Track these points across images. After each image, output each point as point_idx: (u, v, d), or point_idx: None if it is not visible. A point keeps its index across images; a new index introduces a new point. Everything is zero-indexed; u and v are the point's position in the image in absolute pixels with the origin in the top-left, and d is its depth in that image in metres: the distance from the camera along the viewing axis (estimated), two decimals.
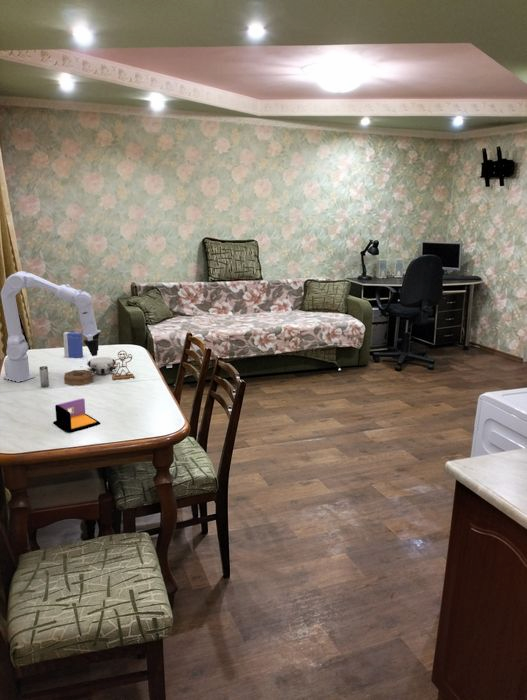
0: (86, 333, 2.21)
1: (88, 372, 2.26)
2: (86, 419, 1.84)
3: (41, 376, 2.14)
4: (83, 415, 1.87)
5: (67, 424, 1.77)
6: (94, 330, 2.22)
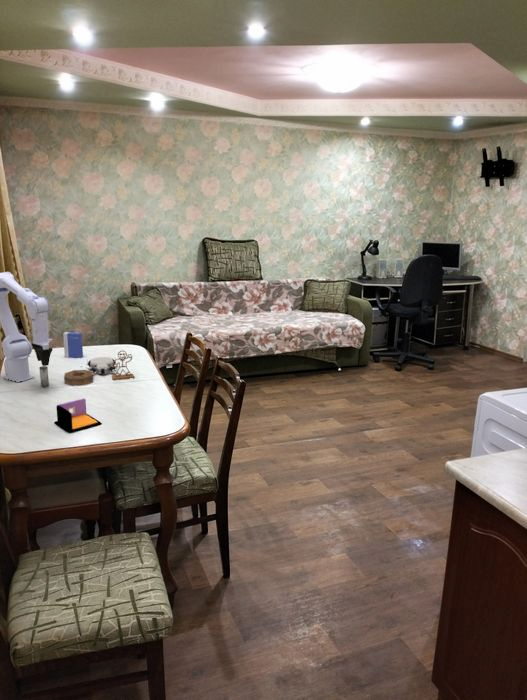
0: (38, 341, 2.09)
1: (88, 372, 2.26)
2: (87, 419, 1.84)
3: (41, 376, 2.14)
4: (84, 415, 1.87)
5: (68, 424, 1.77)
6: (47, 338, 2.11)
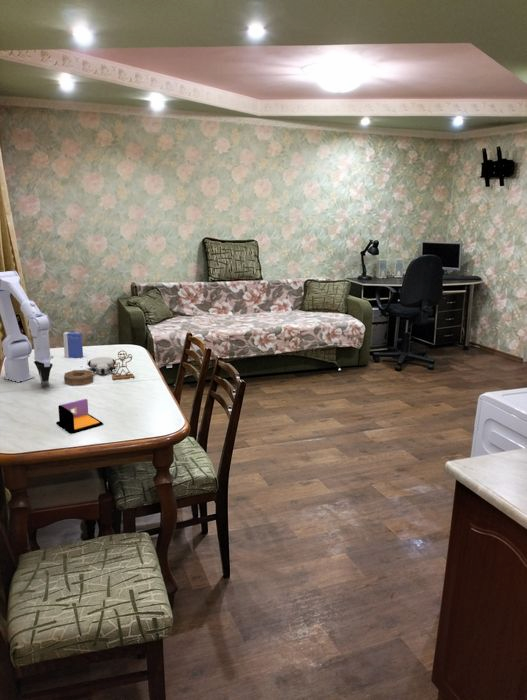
0: (40, 358, 2.11)
1: (88, 372, 2.26)
2: (89, 420, 1.84)
3: None
4: (86, 415, 1.87)
5: (70, 425, 1.76)
6: (48, 356, 2.13)
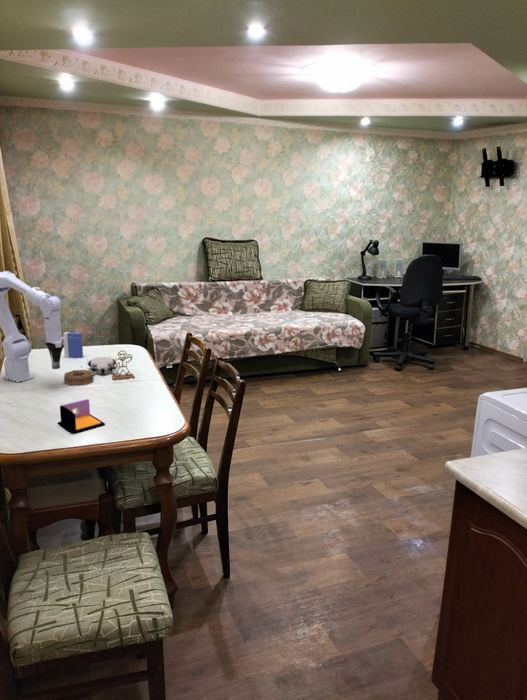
0: (51, 339, 2.11)
1: (88, 372, 2.26)
2: (91, 420, 1.83)
3: (52, 357, 2.15)
4: (88, 416, 1.87)
5: (72, 425, 1.76)
6: (60, 337, 2.13)
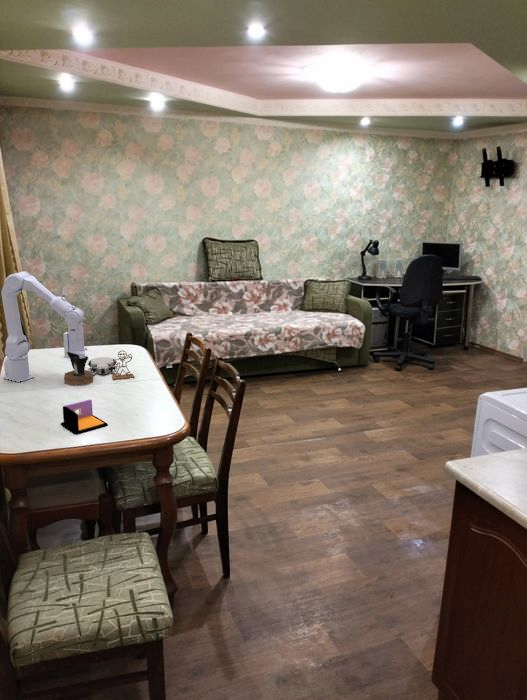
0: (75, 350, 2.18)
1: (88, 372, 2.26)
2: (93, 420, 1.83)
3: (75, 371, 2.22)
4: (90, 416, 1.86)
5: (74, 425, 1.76)
6: (83, 347, 2.20)
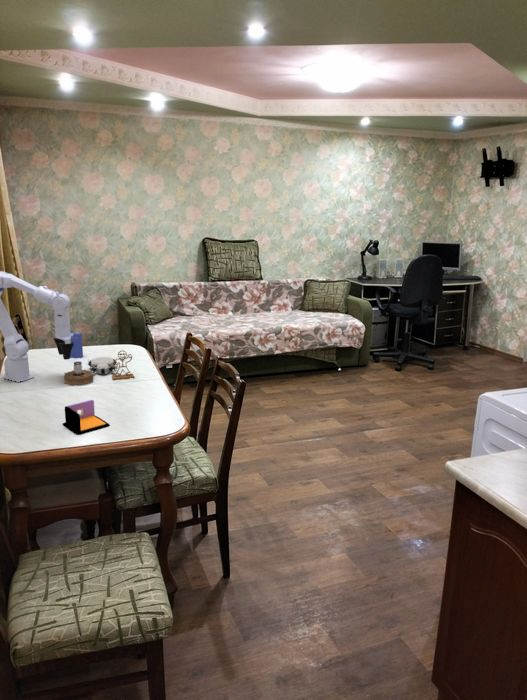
0: (61, 336, 2.18)
1: (88, 372, 2.26)
2: (95, 421, 1.83)
3: (75, 371, 2.22)
4: (92, 417, 1.86)
5: (76, 426, 1.76)
6: (69, 333, 2.20)
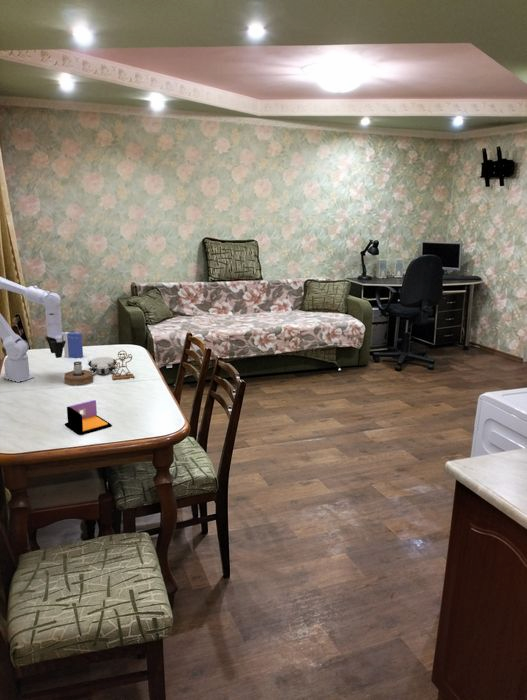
0: (52, 334, 2.19)
1: (88, 372, 2.26)
2: (98, 421, 1.83)
3: (75, 371, 2.22)
4: (95, 417, 1.86)
5: (79, 426, 1.76)
6: (60, 332, 2.21)
